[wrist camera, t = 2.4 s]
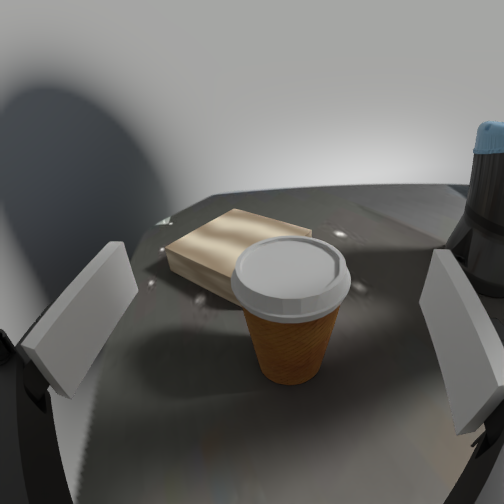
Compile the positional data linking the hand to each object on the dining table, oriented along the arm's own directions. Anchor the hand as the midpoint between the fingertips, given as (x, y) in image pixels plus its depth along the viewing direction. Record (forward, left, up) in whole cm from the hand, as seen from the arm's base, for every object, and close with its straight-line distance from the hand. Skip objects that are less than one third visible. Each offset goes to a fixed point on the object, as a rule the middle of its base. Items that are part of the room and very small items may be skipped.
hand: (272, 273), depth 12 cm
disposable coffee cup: (-9, -5, -18) cm, 21 cm away
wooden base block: (-20, -21, -18) cm, 34 cm away
